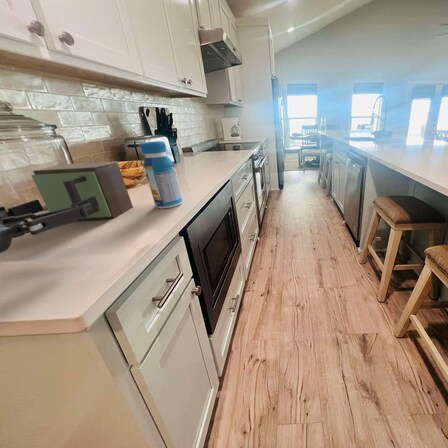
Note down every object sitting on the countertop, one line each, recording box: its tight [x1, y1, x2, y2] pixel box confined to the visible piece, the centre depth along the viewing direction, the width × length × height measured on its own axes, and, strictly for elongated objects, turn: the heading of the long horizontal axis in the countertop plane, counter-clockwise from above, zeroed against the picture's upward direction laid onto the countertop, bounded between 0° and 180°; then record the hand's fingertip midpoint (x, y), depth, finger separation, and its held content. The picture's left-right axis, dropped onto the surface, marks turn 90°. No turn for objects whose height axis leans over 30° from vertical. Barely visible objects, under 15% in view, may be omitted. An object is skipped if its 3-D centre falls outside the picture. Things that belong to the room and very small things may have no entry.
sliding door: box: [31, 171, 111, 218], centre depth 64 cm, size 16×7×13 cm, turn 93°
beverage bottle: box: [139, 140, 183, 209], centre depth 76 cm, size 8×8×20 cm
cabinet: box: [32, 161, 134, 222], centre depth 72 cm, size 16×10×15 cm, turn 93°
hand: (67, 203), depth 60 cm, fingers open, 13 cm apart
